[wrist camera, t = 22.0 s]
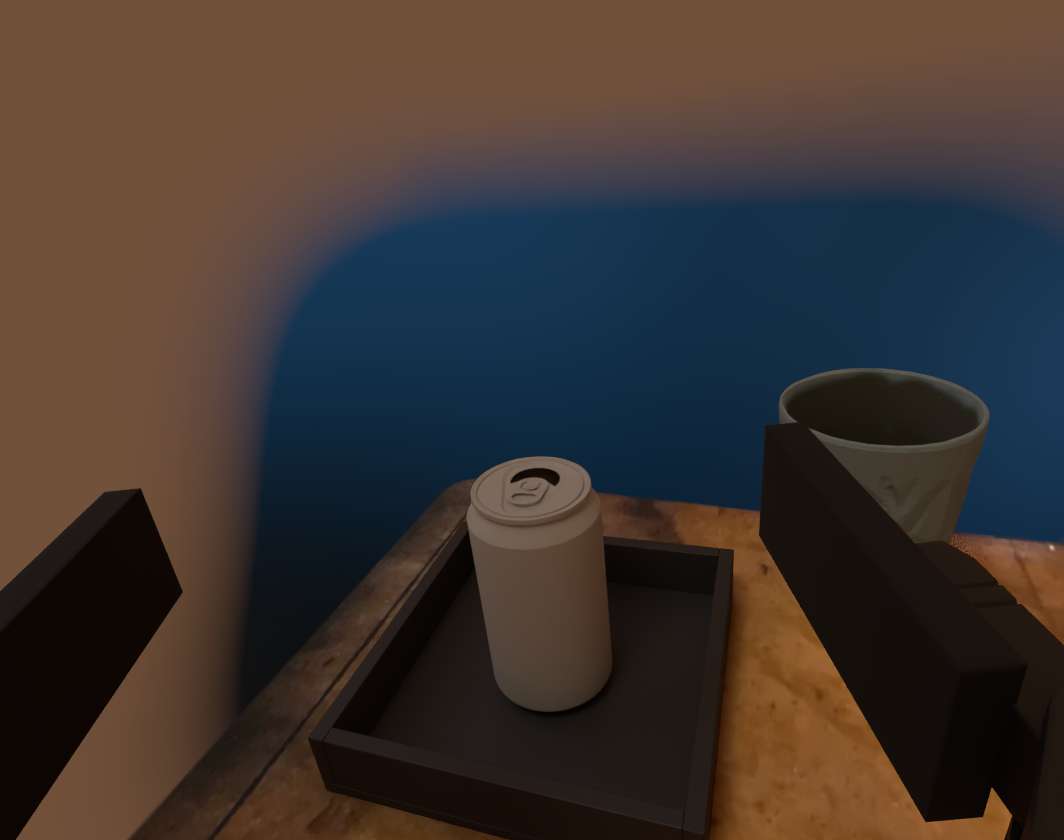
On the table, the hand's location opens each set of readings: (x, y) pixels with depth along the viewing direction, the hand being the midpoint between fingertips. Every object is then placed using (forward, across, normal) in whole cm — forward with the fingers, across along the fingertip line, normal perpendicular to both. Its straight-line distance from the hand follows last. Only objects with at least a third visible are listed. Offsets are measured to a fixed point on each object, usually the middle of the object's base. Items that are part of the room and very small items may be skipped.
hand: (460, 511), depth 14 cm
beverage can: (+15, +1, -20) cm, 25 cm away
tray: (+15, +1, -21) cm, 25 cm away
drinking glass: (+20, +20, -21) cm, 36 cm away
